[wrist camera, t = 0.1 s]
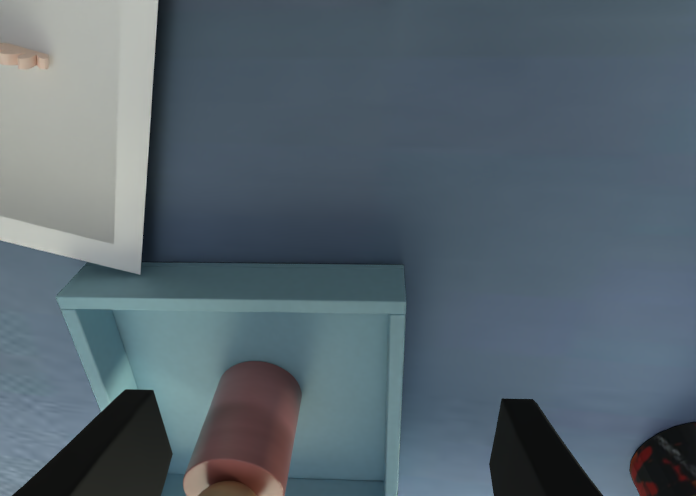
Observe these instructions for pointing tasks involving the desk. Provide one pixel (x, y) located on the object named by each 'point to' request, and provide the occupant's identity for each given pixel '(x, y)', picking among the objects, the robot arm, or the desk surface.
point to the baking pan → (256, 355)
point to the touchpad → (76, 126)
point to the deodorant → (667, 463)
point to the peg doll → (246, 434)
